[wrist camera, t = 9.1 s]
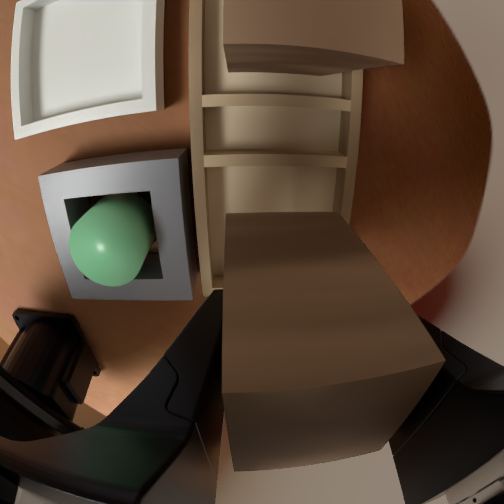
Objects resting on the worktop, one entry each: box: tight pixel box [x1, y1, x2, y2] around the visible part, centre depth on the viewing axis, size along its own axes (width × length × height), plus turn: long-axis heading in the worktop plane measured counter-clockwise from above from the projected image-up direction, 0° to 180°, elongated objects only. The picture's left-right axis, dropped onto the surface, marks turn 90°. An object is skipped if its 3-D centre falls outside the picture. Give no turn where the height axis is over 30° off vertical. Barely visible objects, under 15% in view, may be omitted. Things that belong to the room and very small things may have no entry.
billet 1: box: [223, 0, 404, 76], centre depth 7 cm, size 4×4×7 cm
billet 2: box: [222, 212, 446, 471], centre depth 8 cm, size 4×4×7 cm
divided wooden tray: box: [189, 0, 363, 296], centre depth 12 cm, size 7×17×2 cm, turn 0°
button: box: [69, 192, 156, 286], centre depth 13 cm, size 4×4×3 cm
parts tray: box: [11, 0, 165, 140], centre depth 9 cm, size 8×8×2 cm
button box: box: [38, 148, 197, 300], centre depth 14 cm, size 7×7×2 cm
